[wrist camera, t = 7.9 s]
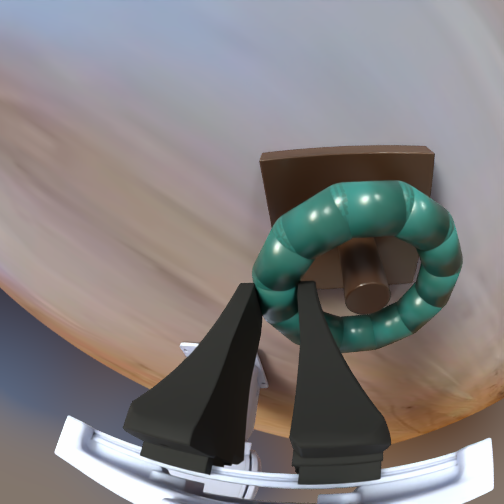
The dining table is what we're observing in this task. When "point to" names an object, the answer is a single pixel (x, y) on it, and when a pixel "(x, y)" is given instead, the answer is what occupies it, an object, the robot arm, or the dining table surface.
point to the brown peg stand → (356, 249)
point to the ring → (359, 226)
